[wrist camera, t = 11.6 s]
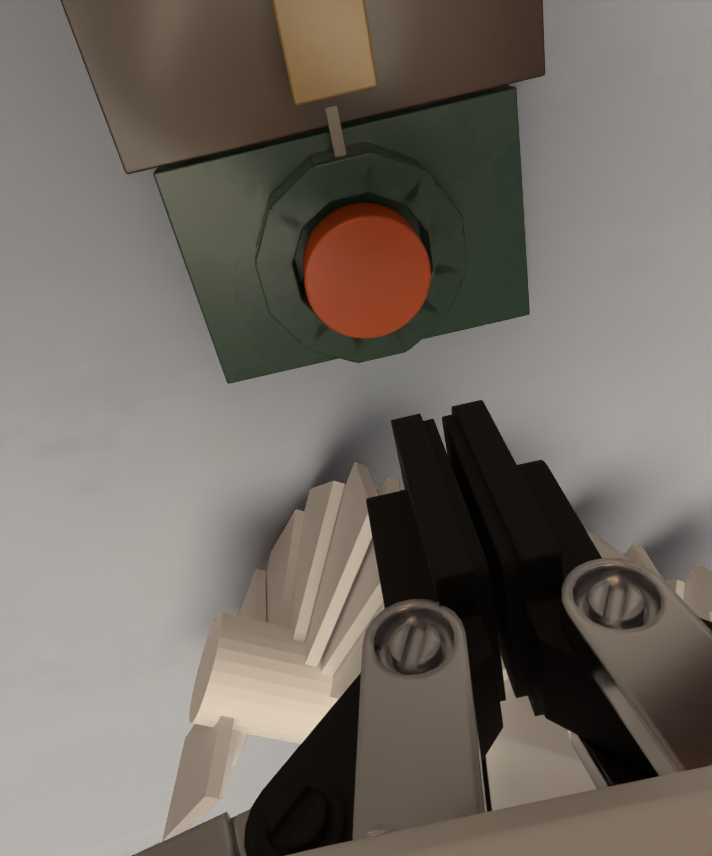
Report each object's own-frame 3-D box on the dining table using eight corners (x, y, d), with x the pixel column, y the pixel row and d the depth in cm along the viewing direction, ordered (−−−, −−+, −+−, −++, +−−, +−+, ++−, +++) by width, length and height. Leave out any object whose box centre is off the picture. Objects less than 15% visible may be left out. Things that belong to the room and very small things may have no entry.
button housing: (229, 364, 27) (224, 408, 24) (159, 162, 23) (142, 185, 20) (516, 299, 27) (546, 334, 24) (501, 81, 22) (536, 91, 19)
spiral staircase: (263, 412, 33) (667, 540, 39) (156, 738, 34) (568, 814, 40) (323, 488, 15) (1050, 702, 21) (95, 1172, 16) (856, 1191, 22)
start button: (317, 329, 23) (320, 351, 22) (289, 217, 21) (290, 232, 19) (428, 304, 23) (439, 324, 22) (411, 188, 21) (421, 202, 19)
